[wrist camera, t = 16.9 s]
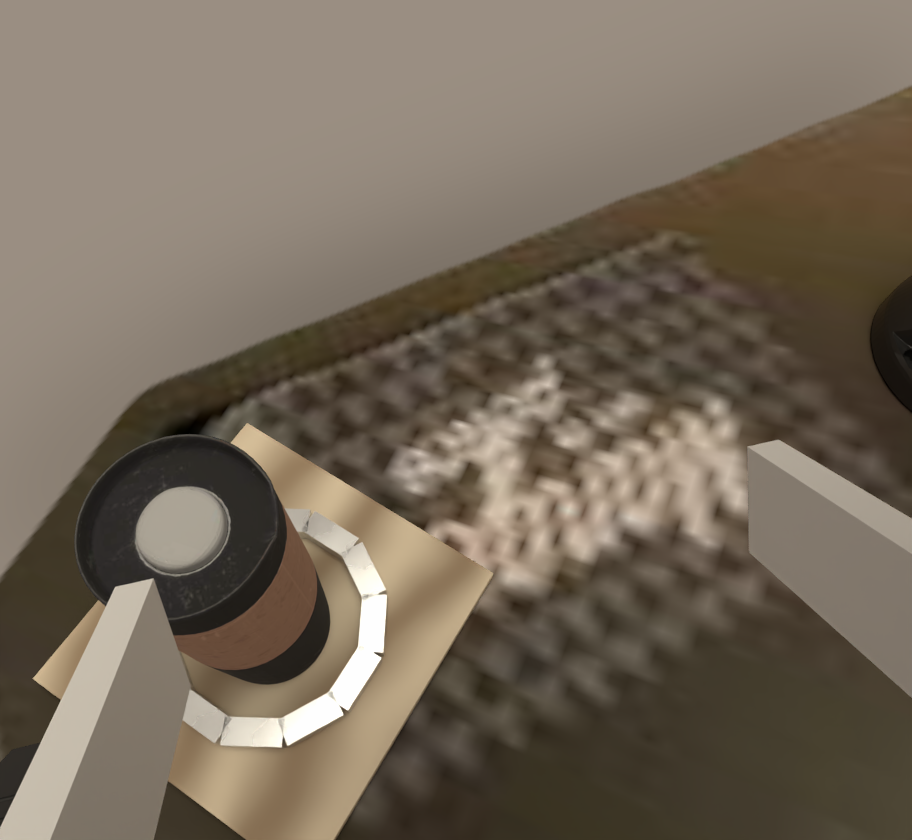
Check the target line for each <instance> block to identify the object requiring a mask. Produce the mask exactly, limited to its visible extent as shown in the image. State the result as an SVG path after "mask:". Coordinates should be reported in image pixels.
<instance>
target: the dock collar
mask: <svg viewBox="0 0 912 840" xmlns="http://www.w3.org/2000/svg"><path fill="white" fill-rule="evenodd" d="M285 510H286V512H287V514H288V516H289V518H290V519H291V521H292V523H293V525H294V527H295V529H296V531H297V532H298V534H299V536H300V538H301V539H308V540H310V541H312V542H313V543H315V544H316V545H318V546H319V547H321V548H323V549H324V550H326V551H327V552H329V553H330V554H332V555H334V556H335V557H337V558H338V559H340V560H341V561H343V562H344V563H345V565H346V567H347V569H348V571H349V573H350V575H351V577H352V579H353V581H354V583H355V586H356V588H357V590H358V592H359V594H360V596H361V598H362V606H361V618H360V630H359V642H358V648H357V650H356V651H355V653H354V654H353V656H352V657H351V659H350V660H349V662H348V664H347V665H346V667H345V668H344V670H343V671H342V673H341V674H340V676H339V677H338V679H337V680H336V682H335V683H334V685H333V686H332V688H331V689H330V691H329V692H328V693H326V694H325V695H323V696H321V697H319V698H317V699H315V700H314V701H312V702H310V703H308V704H306V705H304V706H303V707H301V708H299V709H297V710H295V711H293V712H292V713H290V714H288V715H286V716H284V717H282V718H256V717H232V716H230V715H229V714H227V713H226V712H225V711H223V710H222V709H220V708H219V707H218V706H216V705H215V704H213V703H212V702H211V701H209V700H208V699H206V698H205V697H204V696H202V695H201V694H199V693H198V692H197V691H195V688H194V685H193V683H192V680H191V677H190V675H189V672H188V669H187V666H186V664H185V661H184V658H183V656H182V653H181V651H179V653H180V656H181V659H182V662H183V665H184V668H185V671H186V674H187V677H188V679H189V682H190V685H191V687H190V691H189V695H188V699H187V703H186V708H185V712H184V716H183V721H184V722H186V723H187V724H188V725H190V726H191V727H193V728H194V729H195V730H197V731H198V732H199V733H201V734H202V735H204V736H205V737H206V738H208V739H209V740H210V741H212V742H213V743H215V744H220V745H221V746H226V747H255V748H286V743H287V746H290V747H293V746H294V745H296V744H298V743H300V742H302V741H303V740H305V739H307V738H309V737H311V736H312V735H314V734H316V733H318V732H320V731H321V730H323V729H325V728H327V727H329V726H330V725H332V724H334V723H336V722H338V721H339V720H341V719H343V718H345V714H344V712H343V710H342V708H344V709H345V710H347V711H348V712H351V711H352V709H353V707H354V706H355V704H356V703H357V701H358V700H359V698H360V696H361V695H362V693H363V692H364V690H365V688H366V687H367V685H368V684H369V682H370V681H371V679H372V677H373V676H374V674H375V673H376V671H377V670H378V668H379V666H380V665H381V663H382V659H381V658H380V657H379V656H384V653H385V638H386V624H387V609H388V597H387V592H386V589H385V587H384V585H383V583H382V581H381V579H380V577H379V575H378V573H377V571H376V569H375V567H374V565H373V563H372V561H371V559H370V557H369V555H368V553H367V551H366V549H365V547H364V545H363V543H362V542H361V543H360V541H359V538H358V537H356V536H354V535H353V534H351V533H350V532H348V531H346V530H345V529H343V528H342V527H340V526H339V525H337V524H335V523H334V522H332V521H331V520H329V519H327V518H326V517H324V516H323V515H321V514H319V513H318V512H316V511H315V512H314V513H313V514H312V513H311V510H310V509H288V508H285ZM341 707H342V708H341Z"/></svg>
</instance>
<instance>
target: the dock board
mask: <svg viewBox="0 0 912 840" xmlns="http://www.w3.org/2000/svg"><path fill="white" fill-rule="evenodd" d="M231 444H233V445H235V446H237V447H238V448H240V449H242V450H243V451H245V452H246V453H247V454H248V455H250V456H251V457H252V458H253V459H254V460H255V461H256V462H257V463H258V464H259V465H260V466H261V467H262V469H263V470H264V471H265V472H266V474H267V475H268V477H269V478H270V480H271V482H272V484H273V487H274V490H275V492H276V493H277V495H278V497H279V499H280V501H281V503H282V505H283V506H284V508H288V509H310V510H311V513H312V514H313V513H314V512H315V511H316V512H318V513H319V514H321V515H323V516H324V517H326V518H327V519H329V520H331V521H332V522H334V523H335V524H337V525H339V526H340V527H342V528H343V529H345V530H346V531H348V532H350V533H351V534H353V535H354V536H356V537H358V538H359V541H360V543H361V542H362V543H363V545H364V547H365V549H366V551H367V553H368V555H369V557H370V559H371V561H372V563H373V565H374V567H375V569H376V571H377V573H378V575H379V577H380V579H381V581H382V583H383V585H384V587H385V589H386V592H387V597H388V609H387V624H386V638H385V653H384V656H379V657H380V658H381V659H382V663H381V665H380V666H379V668H378V670H377V671H376V673H375V674H374V676H373V677H372V679H371V681H370V682H369V684H368V685H367V687H366V688H365V690H364V692H363V693H362V695H361V696H360V698H359V700H358V701H357V703H356V704H355V706H354V707H353V709H352V711H351V712H348V711H347V710H345V709H344V708H342V707H341V708H342V710H343V712H344V714H345V718H343V719H341V720H339V721H338V722H336V723H334V724H332V725H330V726H329V727H327V728H325V729H323V730H321V731H320V732H318V733H316V734H314V735H312V736H311V737H309V738H307V739H305V740H303V741H302V742H300V743H298V744H296V745H294V746H293V747H290V746H287V743H286V748H255V747H226V746H221V745H220V744H215V743H213V742H212V741H210V740H209V739H208V738H206V737H205V736H204V735H202V734H201V733H199V732H198V731H197V730H195V729H194V728H193V727H191V726H190V725H188V724H187V723H186V722H184V721H183V720H182V724H181V728H180V732H179V736H178V741H177V745H176V749H175V753H174V757H173V761H172V765H171V769H170V774H169V778H168V781H169V782H170V783H172V784H173V785H174V786H176V787H177V788H178V789H180V790H181V791H182V792H184V793H185V794H186V795H188V796H189V797H190V798H192V799H193V800H194V801H196V802H197V803H198V804H200V805H201V806H202V807H204V808H205V809H206V810H208V811H209V812H210V813H212V814H213V815H214V816H215V817H217V818H218V819H219V820H221V821H222V822H223V823H225V824H226V825H227V826H229V827H230V828H231V829H233V830H234V831H235V832H237V833H238V834H239V835H241V836H242V837H243V838H245V839H246V840H336V838H337V836H338V835H339V833H340V831H341V830H342V828H343V826H344V825H345V823H346V821H347V820H348V818H349V816H350V815H351V813H352V811H353V810H354V808H355V806H356V805H357V803H358V801H359V800H360V798H361V796H362V795H363V793H364V791H365V790H366V788H367V786H368V785H369V783H370V781H371V780H372V778H373V776H374V775H375V773H376V771H377V770H378V768H379V766H380V765H381V763H382V761H383V760H384V758H385V756H386V755H387V753H388V751H389V750H390V748H391V746H392V745H393V743H394V741H395V740H396V738H397V736H398V735H399V733H400V731H401V730H402V728H403V726H404V725H405V723H406V721H407V720H408V718H409V716H410V715H411V713H412V711H413V710H414V708H415V706H416V705H417V703H418V701H419V700H420V698H421V696H422V695H423V693H424V691H425V690H426V688H427V686H428V685H429V683H430V681H431V680H432V678H433V676H434V675H435V673H436V671H437V670H438V668H439V666H440V665H441V663H442V661H443V660H444V658H445V656H446V655H447V653H448V651H449V650H450V648H451V646H452V645H453V643H454V641H455V639H456V638H457V636H458V634H459V633H460V631H461V629H462V628H463V626H464V624H465V623H466V621H467V619H468V618H469V616H470V614H471V613H472V611H473V609H474V608H475V606H476V604H477V603H478V601H479V599H480V598H481V596H482V594H483V593H484V591H485V589H486V588H487V586H488V584H489V583H490V581H491V579H492V576H493V573H492V572H490V571H489V570H487V569H485V568H484V567H482V566H480V565H479V564H477V563H476V562H474V561H472V560H471V559H469V558H467V557H466V556H464V555H462V554H461V553H459V552H457V551H456V550H454V549H453V548H451V547H449V546H448V545H446V544H444V543H443V542H441V541H439V540H438V539H436V538H435V537H433V536H431V535H430V534H428V533H426V532H425V531H423V530H421V529H420V528H418V527H417V526H415V525H413V524H412V523H410V522H408V521H407V520H405V519H403V518H402V517H400V516H398V515H397V514H395V513H394V512H392V511H390V510H389V509H387V508H385V507H384V506H382V505H380V504H379V503H377V502H376V501H374V500H372V499H371V498H369V497H367V496H366V495H364V494H362V493H361V492H359V491H358V490H356V489H354V488H353V487H351V486H349V485H348V484H346V483H344V482H343V481H341V480H339V479H338V478H336V477H335V476H333V475H331V474H330V473H328V472H326V471H325V470H323V469H321V468H320V467H318V466H317V465H315V464H313V463H312V462H310V461H308V460H307V459H305V458H303V457H302V456H300V455H298V454H297V453H295V452H294V451H292V450H290V449H289V448H287V447H285V446H284V445H282V444H280V443H279V442H277V441H276V440H274V439H272V438H271V437H269V436H267V435H266V434H264V433H262V432H261V431H259V430H258V429H256V428H254V427H253V426H251V425H249V424H248V423H247V424H246V425H245V426H244V428H243V429H242V430H241V431H240V432H239V434H238V435H237V436H236V437H235V438H234V440H233V441H232V442H231ZM301 540H302V542H303V543H304V545H305V547H306V549H307V551H308V553H309V555H310V557H311V559H312V561H313V564H314V566H315V569H316V571H317V574H318V577H319V579H320V582H321V585H322V588H323V590H324V593H325V596H326V599H327V602H328V606H329V611H330V630H329V635H328V638H327V641H326V644H325V646H324V648H323V650H322V652H321V654H320V655H319V657H318V658H317V659H316V661H315V662H314V663H313V664H312V665H311V666H310V667H309V668H308V669H307V670H306V671H304V672H303V673H301V674H300V675H298V676H297V677H295V678H293V679H291V680H288V681H285V682H282V683H278V684H270V685H262V684H255V683H250V682H247V681H244V680H241V679H238V678H236V677H233V676H231V675H229V674H226V673H224V672H221V671H219V670H216V669H214V668H211V667H209V666H206V665H204V664H202V663H200V662H198V661H196V660H195V659H193V658H191V657H189V656H188V655H186V654H184V653H183V652H181V653H182V656H183V658H184V661H185V664H186V666H187V669H188V672H189V675H190V677H191V680H192V683H193V685H194V688H195V691H197V692H198V693H199V694H201V695H202V696H204V697H205V698H206V699H208V700H209V701H211V702H212V703H213V704H215V705H216V706H218V707H219V708H220V709H222V710H223V711H225V712H226V713H227V714H229V715H230V716H232V717H256V718H282V717H284V716H286V715H288V714H290V713H292V712H293V711H295V710H297V709H299V708H301V707H303V706H304V705H306V704H308V703H310V702H312V701H314V700H315V699H317V698H319V697H321V696H323V695H325V694H326V693H328V692H329V691H330V689H331V688H332V686H333V685H334V683H335V682H336V680H337V679H338V677H339V676H340V674H341V673H342V671H343V670H344V668H345V667H346V665H347V664H348V662H349V660H350V659H351V657H352V656H353V654H354V653H355V651H356V650H357V648H358V642H359V630H360V618H361V606H362V598H361V596H360V594H359V592H358V590H357V588H356V586H355V583H354V581H353V579H352V577H351V575H350V573H349V571H348V569H347V567H346V565H345V563H344V562H343V561H341V560H340V559H338V558H337V557H335V556H334V555H332V554H330V553H329V552H327V551H326V550H324V549H323V548H321V547H319V546H318V545H316V544H315V543H313V542H312V541H310V540H308V539H301ZM105 607H106V606H105V605H103V604H102V603H101V602H100V601H99V600H98V602H97V603H96V604H95V605H94V606H93V608H92V609H91V610H90V611H89V612H88V613H87V615H86V616H85V617H84V618H83V619H82V621H81V622H80V623H79V624H78V625H77V627H76V628H75V629H74V630H73V631H72V633H71V634H70V635H69V636H68V637H67V639H66V640H65V641H64V642H63V643H62V644H61V646H60V647H59V648H58V649H57V650H56V652H55V653H54V654H53V655H52V656H51V658H50V659H49V660H48V661H47V662H46V664H45V665H44V666H43V667H42V668H41V670H40V671H39V672H38V673H37V674H36V675H35V677H34V678H33V679H34V680H35V681H36V682H38V683H39V684H40V685H42V686H43V687H44V688H46V689H47V690H48V691H50V692H51V693H52V694H54V695H55V696H56V697H58V698H59V699H60V700H61V699H62V697H63V695H64V693H65V691H66V689H67V687H68V685H69V683H70V680H71V678H72V676H73V674H74V672H75V670H76V668H77V666H78V664H79V662H80V660H81V657H82V655H83V653H84V651H85V649H86V647H87V645H88V643H89V641H90V639H91V637H92V634H93V632H94V630H95V628H96V626H97V624H98V622H99V620H100V618H101V616H102V614H103V611H104V609H105Z"/></svg>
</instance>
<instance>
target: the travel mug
mask: <svg viewBox="0 0 912 840" xmlns="http://www.w3.org/2000/svg"><path fill="white" fill-rule="evenodd" d="M74 540H75V555H76V561H77V565H78V568H79V571H80V574H81V576H82V578H83V580H84V582H85V584H86V585H87V587H88V588H89V589H90V591H91V592H92V593H93V595H94V596H95V597H96V598H97V599H98V600H99V601H100V602H101V603H102V604H103V605H105V606H106V605H107V603H108V601H109V599H110V597H111V595H112V593H113V591H114V588H115V587H117V586H121V585H126V584H130V583H135V582H139V581H144V580H148V579H153V578H154V581H155V584H156V587H157V590H158V593H159V595H160V598H161V601H162V604H163V607H164V610H165V613H166V616H167V619H168V622H169V624H170V627H171V630H172V633H173V636H174V639H175V642H176V645H177V648H178V650H179V651H181V652H183V653H184V654H186V655H188V656H189V657H191V658H193V659H195V660H196V661H198V662H200V663H202V664H204V665H206V666H209V667H211V668H214V669H216V670H219V671H221V672H224V673H226V674H229V675H231V676H233V677H236V678H238V679H241V680H244V681H247V682H250V683H255V684H262V685H270V684H278V683H282V682H285V681H288V680H291V679H293V678H295V677H297V676H298V675H300V674H301V673H303V672H304V671H306V670H307V669H308V668H309V667H310V666H311V665H312V664H313V663H314V662H315V661H316V659H317V658H318V657H319V655H320V654H321V652H322V650H323V648H324V646H325V644H326V641H327V638H328V635H329V630H330V611H329V606H328V602H327V599H326V596H325V593H324V590H323V588H322V585H321V582H320V579H319V577H318V574H317V571H316V569H315V566H314V564H313V561H312V559H311V557H310V555H309V553H308V551H307V549H306V547H305V545H304V543H303V542H302V540H301V538H300V536H299V534H298V532H297V531H296V529H295V527H294V525H293V523H292V521H291V519H290V518H289V516H288V514H287V512H286V510H285V508H284V506H283V505H282V503H281V501H280V499H279V497H278V495H277V493H276V492H275V490H274V487H273V484H272V482H271V480H270V478H269V477H268V475H267V474H266V472H265V471H264V470H263V469H262V467H261V466H260V465H259V464H258V463H257V462H256V461H255V460H254V459H253V458H252V457H251V456H250V455H248V454H247V453H246V452H245V451H243V450H242V449H240V448H238V447H237V446H235V445H233V444H231V443H229V442H227V441H224V440H222V439H218V438H215V437H211V436H205V435H194V434H184V435H174V436H168V437H163V438H160V439H156V440H153V441H150V442H148V443H145V444H143V445H141V446H139V447H137V448H135V449H133V450H131V451H130V452H128V453H126V454H125V455H124V456H122V457H121V458H119V459H118V460H117V461H115V462H114V463H113V464H112V465H111V466H110V467H109V468H107V469H106V471H105V472H104V473H103V474H102V475H101V476H100V477H99V478H98V480H97V481H96V482H95V484H94V485H93V486H92V488H91V489H90V491H89V493H88V495H87V496H86V498H85V500H84V502H83V505H82V507H81V510H80V512H79V516H78V519H77V523H76V529H75V537H74Z"/></svg>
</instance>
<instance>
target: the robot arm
mask: <svg viewBox="0 0 912 840" xmlns="http://www.w3.org/2000/svg"><path fill="white" fill-rule="evenodd" d="M871 344H872V350H873V354H874V358H875V361H876V364H877V366H878V368H879V370H880V373H881V374H882V376H883V378H884V380H885V381H886V383H887V384H888V386H889V387H890V388H891V390H892V391H893V392H894V394H895V395H896V396H897V397H898V398H899V399H900V400H901V401H902V403H903V404H905V405H906V406H907V407H908V408H909V409H910V410H911V411H912V276H911V277H909V278H908V279H906V280H905V281H904V282H902V283H901V284H900V285H899V286H898V287H897V288H896V289H895V290H894V291H893V292H892V293H891V294H890V295H889V297H888V298H887V299H886V300H885V301H884V302H883V303H882V304H881V306H880V307H879V309H878V310H877V312H876V315H875V317H874V320H873V324H872V330H871ZM747 454H748V523H749V553H750V554H751V555H753V556H754V557H755V558H756V559H757V560H758V561H759V562H760V563H762V564H763V565H764V566H765V567H766V568H767V569H768V570H769V571H771V572H772V573H773V574H774V575H775V576H776V577H777V578H778V579H779V580H781V581H782V582H783V583H784V584H785V585H786V586H787V587H788V588H790V589H791V590H792V591H793V592H794V593H795V594H796V595H797V596H798V597H800V598H801V599H802V600H803V601H804V602H805V603H806V604H807V605H809V606H810V607H811V608H812V609H813V610H814V611H815V612H816V613H817V614H819V615H820V616H821V617H822V618H823V619H824V620H825V621H826V622H828V623H829V624H830V625H831V626H832V627H833V628H834V629H835V630H836V631H838V632H839V633H840V634H841V635H842V636H843V637H844V638H845V639H847V640H848V641H849V642H850V643H851V644H852V645H853V646H854V647H856V648H857V649H858V650H859V651H860V652H861V653H862V654H863V655H864V656H866V657H867V658H868V659H869V660H870V661H871V662H872V663H873V664H875V665H876V666H877V667H878V668H879V669H880V670H881V671H882V672H883V673H885V674H886V675H887V676H888V677H889V678H890V679H891V680H892V681H894V682H895V683H896V684H897V685H898V686H899V687H900V688H901V689H902V690H904V691H905V692H906V693H907V694H908V695H909V696H910V697H911V698H912V518H910V517H908V516H907V515H905V514H903V513H902V512H900V511H898V510H896V509H895V508H893V507H891V506H890V505H888V504H886V503H885V502H883V501H881V500H880V499H878V498H876V497H875V496H873V495H871V494H869V493H868V492H866V491H864V490H863V489H861V488H859V487H858V486H856V485H854V484H853V483H851V482H849V481H848V480H846V479H844V478H842V477H841V476H839V475H837V474H836V473H834V472H832V471H831V470H829V469H827V468H826V467H824V466H822V465H821V464H819V463H817V462H816V461H814V460H812V459H810V458H809V457H807V456H805V455H804V454H802V453H800V452H799V451H797V450H795V449H794V448H792V447H790V446H789V445H787V444H785V443H783V442H782V441H780V440H775V441H771V442H766V443H762V444H757V445H753V446H748V447H747ZM190 687H191V685H190V682H189V679H188V677H187V674H186V671H185V668H184V665H183V662H182V659H181V656H180V653H179V650H178V648H177V645H176V642H175V639H174V636H173V633H172V630H171V627H170V624H169V622H168V619H167V616H166V613H165V610H164V607H163V604H162V601H161V598H160V595H159V593H158V590H157V587H156V584H155V581H154V578H153V579H148V580H144V581H139V582H135V583H130V584H126V585H121V586H117V587H115V588H114V591H113V593H112V595H111V597H110V599H109V601H108V603H107V605H106V607H105V609H104V611H103V614H102V616H101V618H100V620H99V622H98V624H97V626H96V628H95V630H94V632H93V634H92V637H91V639H90V641H89V643H88V645H87V647H86V649H85V651H84V653H83V655H82V657H81V660H80V662H79V664H78V666H77V668H76V670H75V672H74V674H73V676H72V678H71V680H70V683H69V685H68V687H67V689H66V691H65V693H64V695H63V697H62V699H61V701H60V703H59V706H58V708H57V710H56V712H55V714H54V716H53V718H52V720H51V722H50V724H49V726H48V728H47V731H46V733H45V735H44V737H43V739H42V741H41V743H37V744H33V745H29V746H25V747H21V748H16V749H12V750H11V751H10V753H9V754H8V755H7V756H6V757H5V758H4V759H3V760H2V761H1V762H0V840H154V835H155V831H156V827H157V823H158V819H159V815H160V811H161V807H162V802H163V798H164V794H165V790H166V786H167V782H168V778H169V774H170V769H171V765H172V761H173V757H174V753H175V749H176V745H177V741H178V736H179V732H180V728H181V724H182V720H183V716H184V712H185V708H186V703H187V699H188V695H189V691H190Z"/></svg>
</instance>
